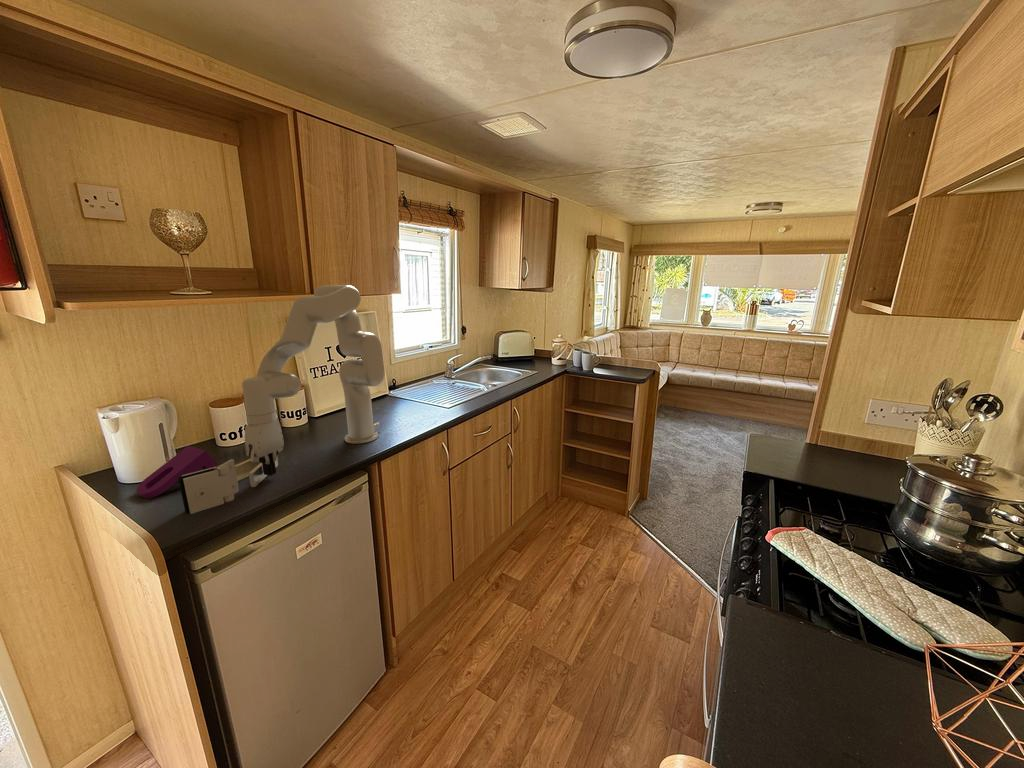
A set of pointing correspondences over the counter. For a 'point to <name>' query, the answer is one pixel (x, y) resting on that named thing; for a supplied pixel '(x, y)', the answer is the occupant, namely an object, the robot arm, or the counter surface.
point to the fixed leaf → (245, 468)
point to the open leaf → (258, 474)
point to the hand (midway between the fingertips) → (270, 473)
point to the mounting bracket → (175, 471)
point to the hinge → (208, 487)
